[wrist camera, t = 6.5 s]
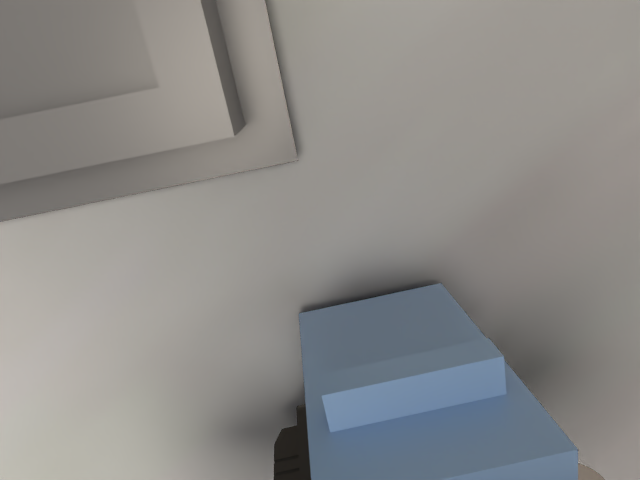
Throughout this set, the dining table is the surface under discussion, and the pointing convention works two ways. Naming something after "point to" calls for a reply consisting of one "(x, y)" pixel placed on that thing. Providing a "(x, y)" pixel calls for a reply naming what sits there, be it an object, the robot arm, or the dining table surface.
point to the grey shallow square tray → (133, 98)
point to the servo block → (420, 397)
